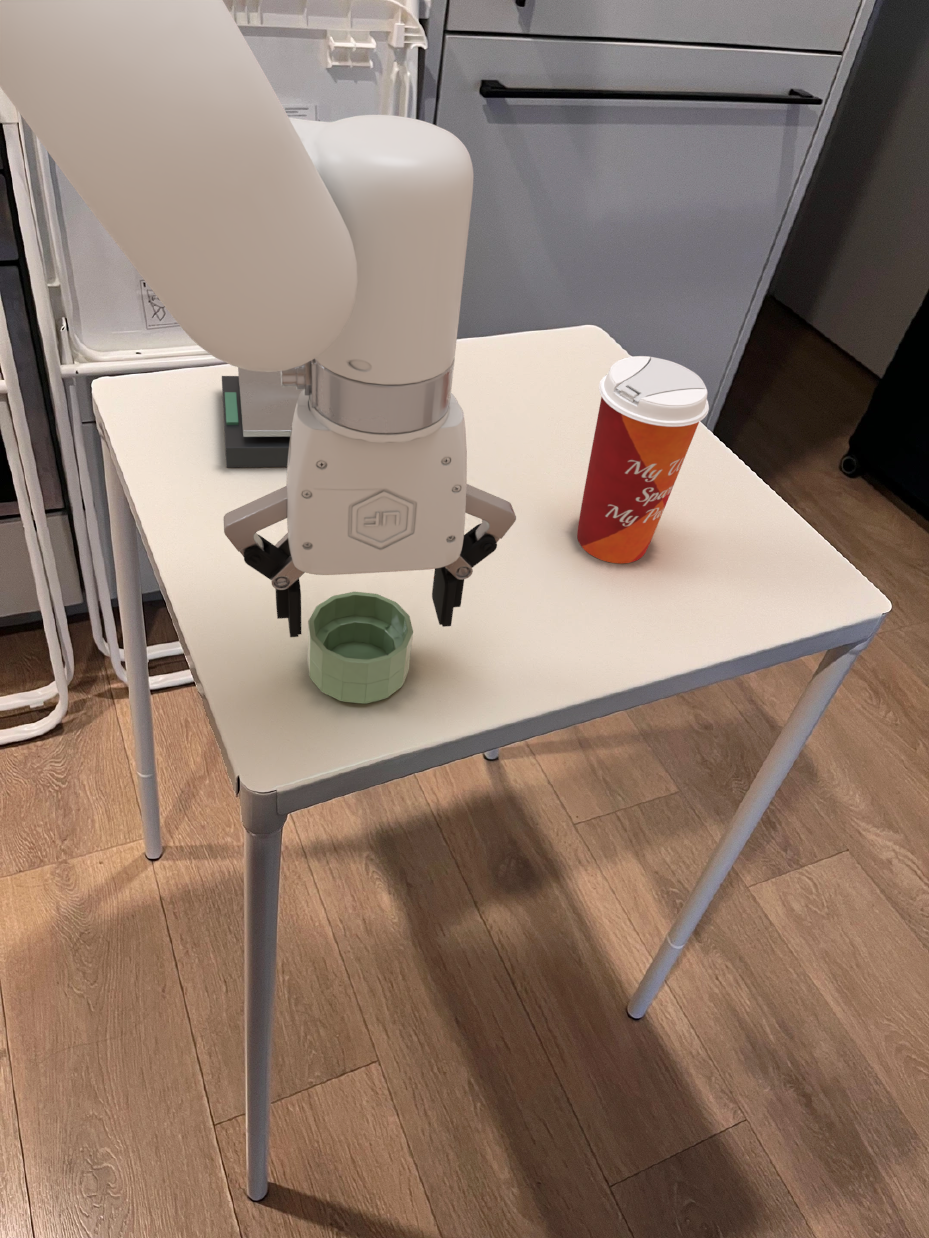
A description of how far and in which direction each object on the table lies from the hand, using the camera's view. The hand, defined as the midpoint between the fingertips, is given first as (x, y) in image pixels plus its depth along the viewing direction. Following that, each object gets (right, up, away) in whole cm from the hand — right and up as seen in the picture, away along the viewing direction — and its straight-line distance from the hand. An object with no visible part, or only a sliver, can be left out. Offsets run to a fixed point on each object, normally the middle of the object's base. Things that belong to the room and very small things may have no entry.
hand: (368, 617), depth 62 cm
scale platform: (-8, +19, +22) cm, 31 cm away
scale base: (-8, +17, +24) cm, 31 cm away
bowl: (-1, -4, +3) cm, 5 cm away
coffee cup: (+19, +6, +18) cm, 26 cm away
